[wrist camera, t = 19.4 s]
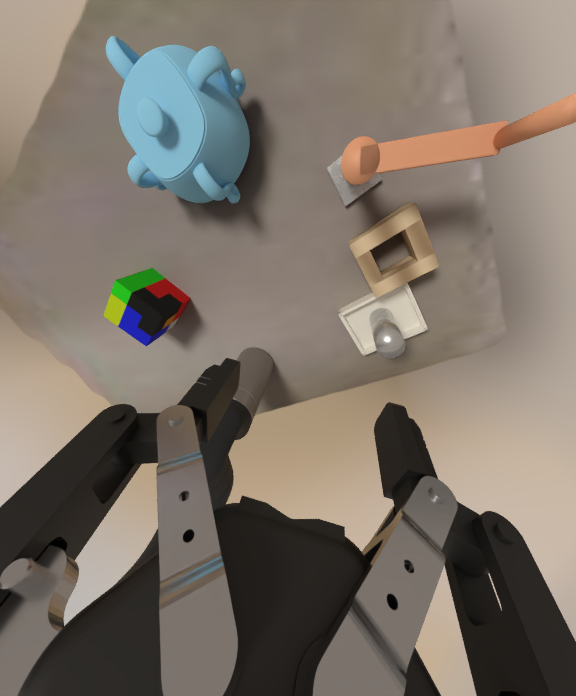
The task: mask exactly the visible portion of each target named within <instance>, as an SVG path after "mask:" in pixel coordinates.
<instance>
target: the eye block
mask: <svg viewBox="0 0 576 696" xmlns="http://www.w3.org/2000/svg"><path fill="white" fill-rule="evenodd" d="M399 232H400V233H401V235H402V237H403V240H404V242H405V245H406V247H407V249H408V252H409V254H410V256H408V257H406V258H405V259H403V260H401V261H399V262H397V263H396V264H394V265H392V266H390V267H388V268H386V269H385V270H383V271H381V272H380V271H379V269H378V267H377V265H376V263H375V261H374V259H373V256H372V254H371V252H370V250H371V249H373V248H374V247H376V246H378V245H379V244H381V243H383V242H384V241H386V240H387V239H389V238H391V237H392V236H394V235H396V234H397V233H399ZM348 242H349V246H350V248H351V250H352V252H353V254H354V256H355V258H356V260H357V262H358V264H359V266H360V268H361V270H362V272H363V274H364V276H365V278H366V280H367V281H368V283H369V285H370V287H371V289H372V291H373V293H374V295H375V297H376V298H378V297H380V296H382V295H384V294H385V293H387V292H389V291H391V290H393V289H395V288H397V287H399V286H401V285H403V284H405V283H407V282H409V281H411V280H413V279H415V278H417V277H419V276H421V275H423V274H425V273H427V272H429V271H431V270H433V269H435V268H437V267H439V264H438V261H437V259H436V256H435V253H434V251H433V248H432V245H431V243H430V240H429V237H428V235H427V232H426V229H425V227H424V224H423V221H422V218H421V216H420V213H419V210H418V208H417V205H416V203H407V204H405V205H404V206H402V207H401V208H399V209H397V210H396V211H394V212H393V213H391V214H390V215H388V216H387V217H385V218H384V219H382V220H381V221H379V222H377V223H376V224H374V225H373V226H371V227H370V228H368V229H367V230H365V231H364V232H362V233H360V234H359V235H357V236H356V237H354V238H353V239H351V240H350V241H348Z"/></svg>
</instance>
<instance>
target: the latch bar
mask: <svg viewBox="0 0 576 696" xmlns="http://www.w3.org/2000/svg"><path fill="white" fill-rule="evenodd" d="M574 122H576V93H574V94H572V95H570V96H568V97H566V98H564V99H562V100H560V101H558V102H556V103H553V104H551V105H549V106H547V107H545V108H543V109H541V110H539V111H537V112H534V113H532V114H530V115H528V116H526V117H524V118H522V119H520V120H518V121H516V122H513V123H511V124H509V125H508V126H507V123H508V120H507V121H502V122H496V123H490V124H485V125H479V126H474V127H468V128H462V129H457V130H451V131H446V132H440V133H435V134H429V135H423V136H418V137H412V138H407V139H401V140H396V141H390V142H384V143H379V144H377V143H376V142H375V141H374V140H373V139H372V138H370V137H366V136H362V137H358V138H356V139H354V140H353V141H352V142H350V143H349V145H348V146H347V147H346V149H345V151H344V153H343V156H342V160H341V171H342V175H343V177H344V178H345V180H346V181H347V182H349V183H350V184H353V185H360V184H363V183H365V182H367V181H368V180H369V179H370V178H371V177H372V176H373V175H374V174H377V173H384V172H390V171H397V170H403V169H410V168H416V167H423V166H430V165H436V164H443V163H449V162H456V161H462V160H469V159H475V158H482V157H489V156H494V155H497V154H499V152H500V148H504V147H506V146H509V145H512V144H515V143H518V142H521V141H524V140H526V139H529V138H532V137H535V136H538V135H541V134H544V133H546V132H549V131H552V130H555V129H558V128H561V127H564V126H566V125H569V124H572V123H574Z"/></svg>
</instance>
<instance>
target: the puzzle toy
mask: <svg viewBox="0 0 576 696" xmlns="http://www.w3.org/2000/svg"><path fill="white" fill-rule="evenodd" d="M190 299H191V298H190V297H188V296H187V295H186V294H184V293H183V292H182V291H181V290H179V289H178V288H177V287H176V286H174V285H173V284H172V283H171V282H169V281H168V280H167V279H166V278H164V277H163V276H162V275H160V274H159V273H158V272H157V271H155V270H154V269H153V268H151V269H148V270H145V271H142V272H139V273H136V274H133V275H130V276H127V277H124V278H121V279H118V280H115V283H114V286H113V289H112V292H111V295H110V298H109V301H108V304H107V307H106V310H105V313H104V317H105V318H107V319H108V320H110V321H111V322H112V323H114V324H115V325H117V326H118V327H120V328H121V329H122V330H124V331H125V332H127V333H128V334H129V335H131V336H132V337H134V338H135V339H137V340H138V341H139V342H141V343H142V344H144V345H145V346H148V345H149V344H150V343H152V342H153V341H154V340H156V339H157V338H159V337H160V336H161V335H163V334H164V333H165V332H167V331H168V330H169V329H171V328H172V327H174V326H175V324H176V322H177V321H178V319H179V317H180V316H181V314H182V312H183V310H184V309H185V307H186V305H187V304H188V302H189V300H190Z"/></svg>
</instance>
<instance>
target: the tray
mask: <svg viewBox="0 0 576 696" xmlns="http://www.w3.org/2000/svg"><path fill="white" fill-rule="evenodd" d="M379 308H386V309H388V310H390V311H391V313H392V315H393V317H394V319H395V321H396V323H397V325H398V328H399V330H400V332H401V334H402V336H403V338H404V339H407V338H409V337H411V336H414V335H416V334H419V333H421V332H424V331H426V330H428V328H427V326H426V323H425V321H424V319H423V317H422V314H421V312H420V310H419V308H418V305H417V303H416V301H415V298H414V296H413V294H412V292H411V289H410V287H409V285H408V283H405V284H403V285H401V286H399V287H397V288H395V289H393V290H391V291H389V292H387V293H385V294H384V295H382V296H380V297H378V298H376V297H375V295H374V293H373V292H372V293H370V294H368V295H366V296H364V297H362V298H360V299H358V300H357V301H355V302H353V303H351V304H349V305H347V306H345V307H343V308H341V309H339V310H338V315H339V317H340V318H341V320H342V322H343V323H344V325H345V327H346V328H347V330H348V332H349V333H350V335H351V337H352V338H353V340H354V342H355V343H356V345H357V347H358V348H359V350H360V352H361V353H362V355H363V356H364V355H367V354H369V353H372V352H374V351H377V350H376V346H375V342H374V338H373V334H372V330H371V326H370V322H369V317H370V314H371V313H372V312H373V311H374V310H376V309H379Z"/></svg>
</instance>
